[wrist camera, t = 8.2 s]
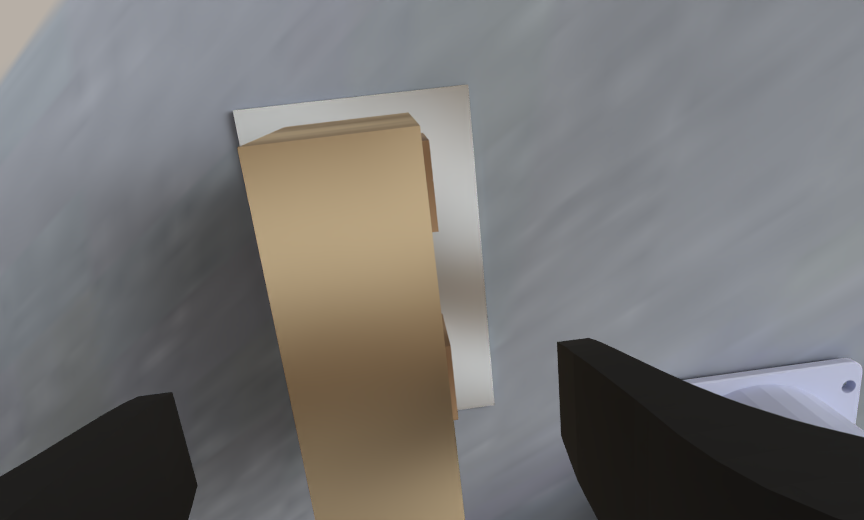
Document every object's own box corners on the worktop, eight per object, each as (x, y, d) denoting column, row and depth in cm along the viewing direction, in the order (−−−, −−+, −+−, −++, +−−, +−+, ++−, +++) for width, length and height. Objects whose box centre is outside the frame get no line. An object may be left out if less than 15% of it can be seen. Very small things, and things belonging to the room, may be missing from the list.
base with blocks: (493, 402, 21) (509, 446, 18) (298, 428, 20) (286, 478, 18) (467, 84, 17) (481, 84, 15) (234, 110, 17) (207, 115, 14)
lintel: (447, 441, 18) (470, 571, 13) (344, 456, 18) (331, 593, 13) (408, 112, 15) (420, 125, 10) (284, 127, 15) (237, 147, 10)
